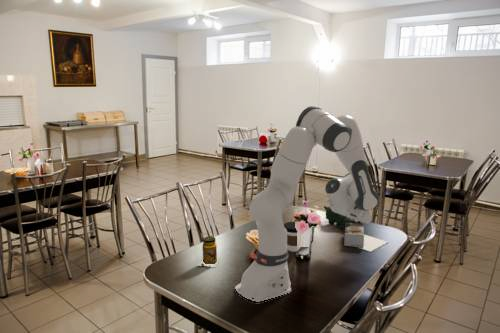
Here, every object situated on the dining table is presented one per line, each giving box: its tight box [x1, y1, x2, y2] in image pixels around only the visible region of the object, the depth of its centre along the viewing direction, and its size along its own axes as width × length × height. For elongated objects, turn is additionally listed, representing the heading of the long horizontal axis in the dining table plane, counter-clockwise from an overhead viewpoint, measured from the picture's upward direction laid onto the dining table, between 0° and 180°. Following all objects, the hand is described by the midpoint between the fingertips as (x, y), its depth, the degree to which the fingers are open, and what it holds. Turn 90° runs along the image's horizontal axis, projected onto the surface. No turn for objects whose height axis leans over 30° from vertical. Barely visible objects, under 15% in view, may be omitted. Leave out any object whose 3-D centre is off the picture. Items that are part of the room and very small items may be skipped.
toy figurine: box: [323, 205, 363, 232], centre depth 201 cm, size 9×19×25 cm
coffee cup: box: [283, 221, 298, 253], centre depth 175 cm, size 11×11×12 cm
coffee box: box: [343, 222, 365, 248], centre depth 184 cm, size 9×6×16 cm
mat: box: [357, 234, 389, 253], centre depth 182 cm, size 16×13×1 cm
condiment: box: [202, 235, 218, 264], centre depth 161 cm, size 7×8×12 cm
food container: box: [311, 225, 317, 243], centre depth 186 cm, size 12×6×10 cm, turn 179°
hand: (355, 219), depth 174 cm, fingers closed
